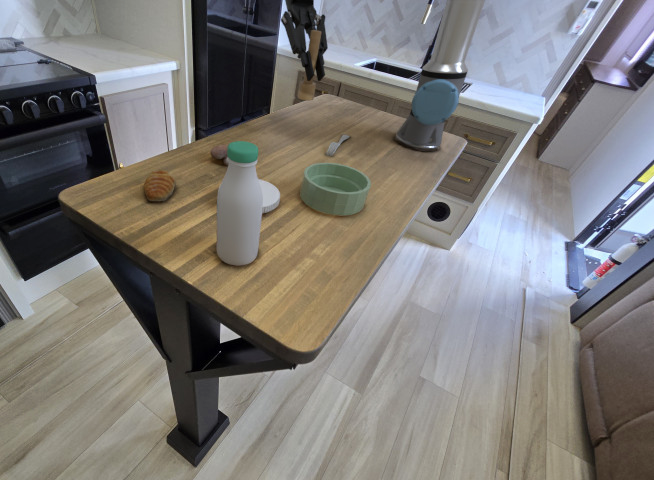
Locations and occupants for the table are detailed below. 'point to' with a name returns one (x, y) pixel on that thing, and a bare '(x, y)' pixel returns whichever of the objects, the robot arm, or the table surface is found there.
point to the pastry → (159, 185)
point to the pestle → (306, 86)
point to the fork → (337, 144)
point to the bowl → (334, 188)
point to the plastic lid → (269, 196)
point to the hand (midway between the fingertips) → (316, 77)
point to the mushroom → (220, 153)
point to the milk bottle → (239, 206)
